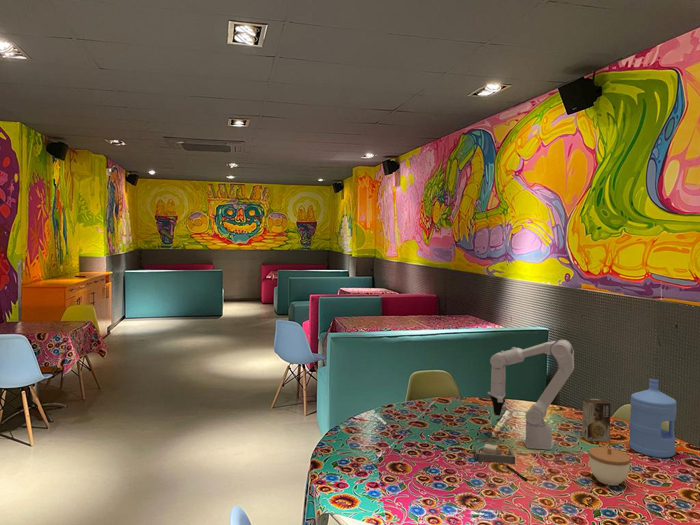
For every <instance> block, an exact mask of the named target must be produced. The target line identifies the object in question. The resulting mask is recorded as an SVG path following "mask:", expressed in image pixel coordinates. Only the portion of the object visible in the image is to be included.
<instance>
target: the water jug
mask: <svg viewBox="0 0 700 525" xmlns="http://www.w3.org/2000/svg"><path fill="white" fill-rule="evenodd" d="M659 381H660V380H659V379H655V378H649V384H648V385H649V386H648V389H645V390H641V391H638V392H634V393H632V394H631V395H630V417H629V418H630V419H629V439H628V445H629V447H630V448H631V450H633V451H635V452H636V453H639V454H641V455H645V456H649V457H653V458H659V459H660V458H661V459H662V458H664V459H666V458H671V457H673V456H675V454H676V435H675V421H676V419H677V411H678V408H677V406H678V405H677V401H676V399H674V398H673V397H671V396H669V395H668V394H665V393H663V392H661V391H660V390H659V386H660V385H659ZM664 422H668V430H666V429H662V424H663V423H664Z"/></svg>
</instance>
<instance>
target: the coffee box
mask: <svg viewBox="0 0 700 525" xmlns="http://www.w3.org/2000/svg"><path fill="white" fill-rule="evenodd" d="M581 436H582V437H583V438H584V439H585V441H587V442H603V443H604V442H605V443H606V442H608V443H609V442H610V440H611V402H609V401H608V400H607V399H605V398H587V397H586V398H585V397H584V398H582V427H581Z"/></svg>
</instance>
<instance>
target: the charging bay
mask: <svg viewBox="0 0 700 525" xmlns="http://www.w3.org/2000/svg"><path fill="white" fill-rule="evenodd" d="M473 452H474V455H475V456H474V457H475V459H476V460H475V461H476V462H487V463H488V462H490V463H502V464H512V465H513V464H516V456H515V454H514V451H513V449H512V447H508V454H507V455H505V454H502V455H496V454H484V452H481V453H480V452H479V449H478V445H477V444H474V446H473Z"/></svg>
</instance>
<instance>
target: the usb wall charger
mask: <svg viewBox="0 0 700 525" xmlns="http://www.w3.org/2000/svg"><path fill="white" fill-rule="evenodd" d="M498 448H499V447H498V445H496V444H495V445H494V444H489V443H484V446H483V454H496V455H505V452H504V451H503V450H498Z"/></svg>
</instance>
